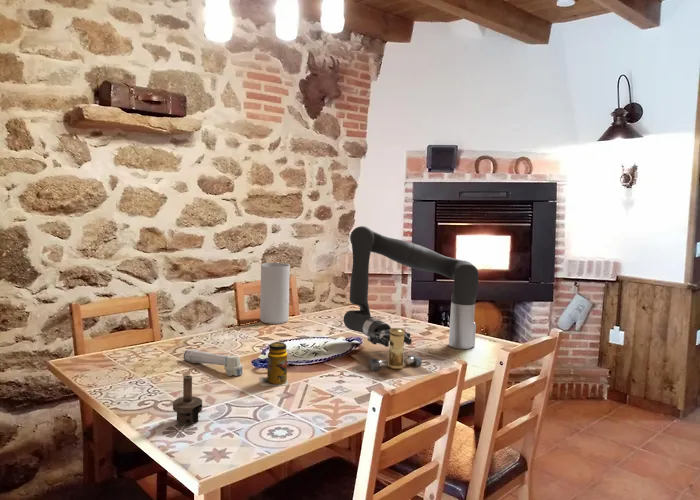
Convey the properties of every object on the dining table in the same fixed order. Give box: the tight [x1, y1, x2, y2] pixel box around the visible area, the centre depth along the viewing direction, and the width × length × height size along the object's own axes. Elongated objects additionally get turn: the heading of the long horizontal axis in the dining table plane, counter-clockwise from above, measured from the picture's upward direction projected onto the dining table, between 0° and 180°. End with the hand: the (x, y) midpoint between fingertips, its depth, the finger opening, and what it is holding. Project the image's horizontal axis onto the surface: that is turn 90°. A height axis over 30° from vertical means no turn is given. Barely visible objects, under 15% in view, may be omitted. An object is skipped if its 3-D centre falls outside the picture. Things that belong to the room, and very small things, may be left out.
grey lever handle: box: [183, 348, 244, 377], centre depth 184 cm, size 5×7×25 cm
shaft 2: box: [404, 354, 423, 367], centre depth 192 cm, size 5×4×3 cm
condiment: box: [259, 341, 290, 387], centre depth 173 cm, size 7×8×12 cm
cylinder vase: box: [259, 262, 291, 325], centre depth 246 cm, size 12×12×25 cm
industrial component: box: [172, 374, 203, 426], centre depth 142 cm, size 9×7×12 cm
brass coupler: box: [388, 327, 407, 370], centre depth 189 cm, size 5×5×13 cm
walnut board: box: [350, 350, 433, 380], centre depth 193 cm, size 18×26×1 cm
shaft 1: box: [368, 359, 387, 373], centre depth 187 cm, size 5×4×3 cm
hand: (399, 342), depth 187 cm, fingers open, 8 cm apart
